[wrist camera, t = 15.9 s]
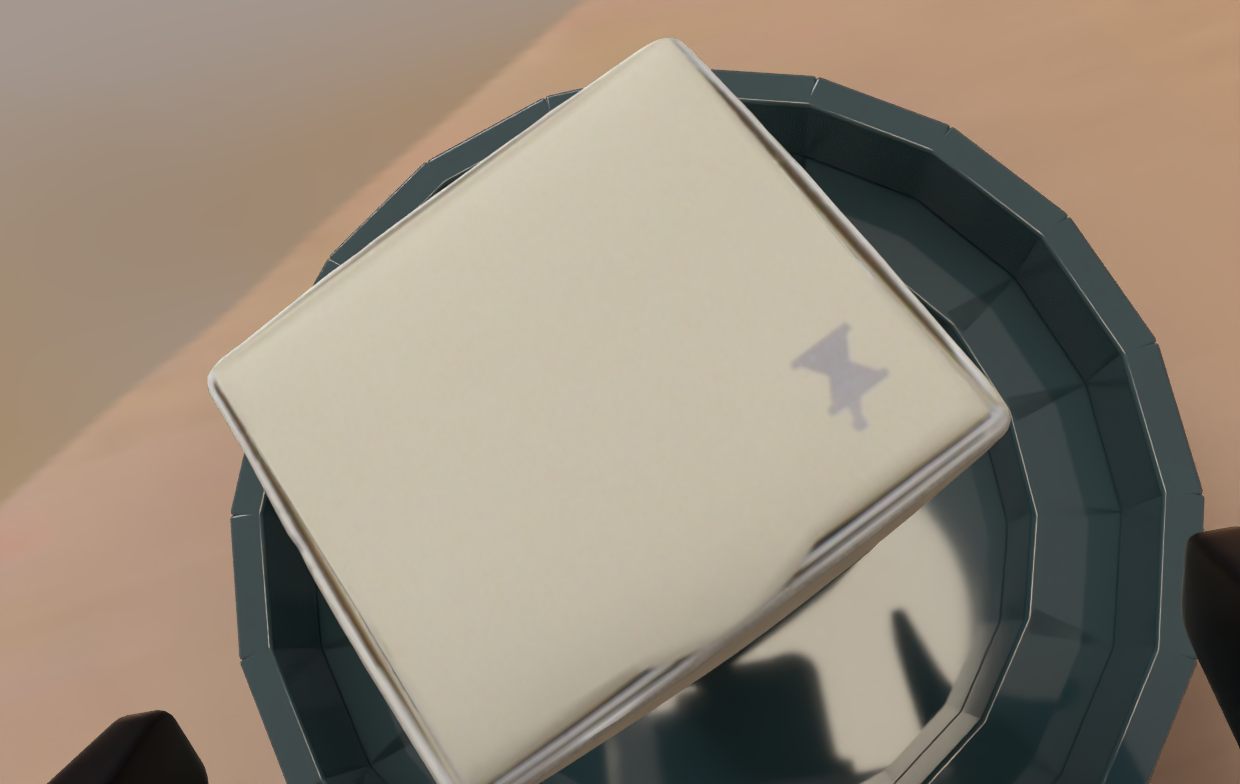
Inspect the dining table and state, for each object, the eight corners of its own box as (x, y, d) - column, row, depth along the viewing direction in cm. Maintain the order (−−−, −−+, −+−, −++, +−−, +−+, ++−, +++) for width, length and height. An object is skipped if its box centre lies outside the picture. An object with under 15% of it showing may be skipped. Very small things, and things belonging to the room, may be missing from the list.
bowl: (1213, 889, 18) (1348, 967, 14) (378, 1002, 20) (267, 1104, 15) (997, 111, 22) (1050, -18, 18) (309, 257, 24) (205, 171, 19)
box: (743, 369, 21) (697, -21, 9) (884, 549, 20) (1068, 399, 7) (528, 526, 21) (166, 360, 8) (657, 716, 20) (456, 848, 7)
